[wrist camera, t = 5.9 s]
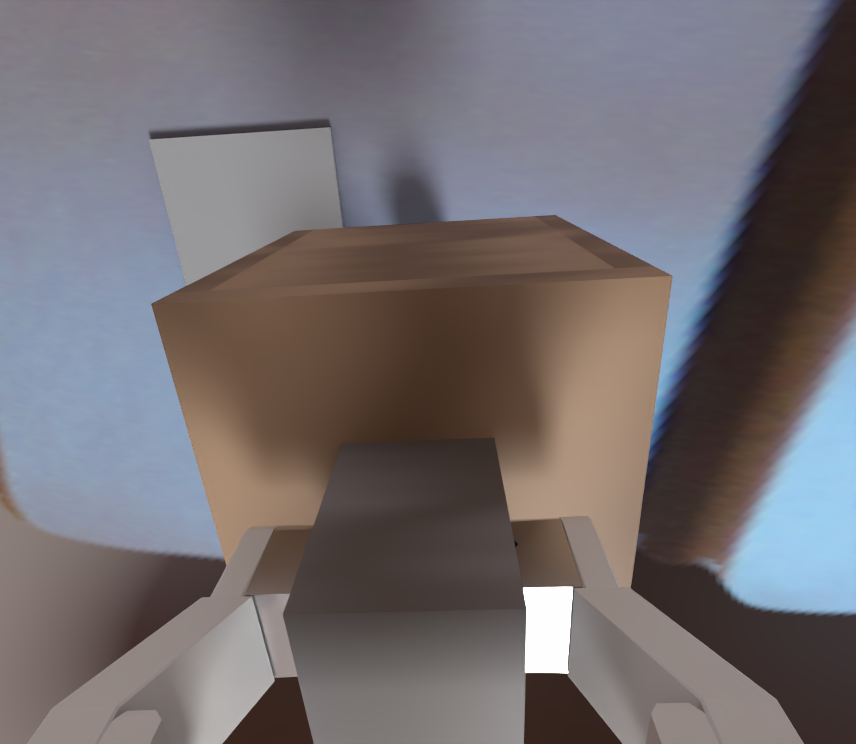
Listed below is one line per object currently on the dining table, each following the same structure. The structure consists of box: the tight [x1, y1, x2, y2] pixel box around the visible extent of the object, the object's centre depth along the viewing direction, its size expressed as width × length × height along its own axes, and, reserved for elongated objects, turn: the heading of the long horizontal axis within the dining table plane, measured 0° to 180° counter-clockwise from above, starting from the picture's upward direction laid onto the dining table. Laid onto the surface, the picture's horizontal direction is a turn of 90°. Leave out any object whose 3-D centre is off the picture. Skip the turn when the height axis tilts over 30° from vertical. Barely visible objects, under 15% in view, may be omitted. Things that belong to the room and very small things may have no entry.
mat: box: [149, 127, 344, 286], centre depth 32 cm, size 11×11×1 cm
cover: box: [151, 215, 672, 744], centre depth 13 cm, size 9×9×13 cm
